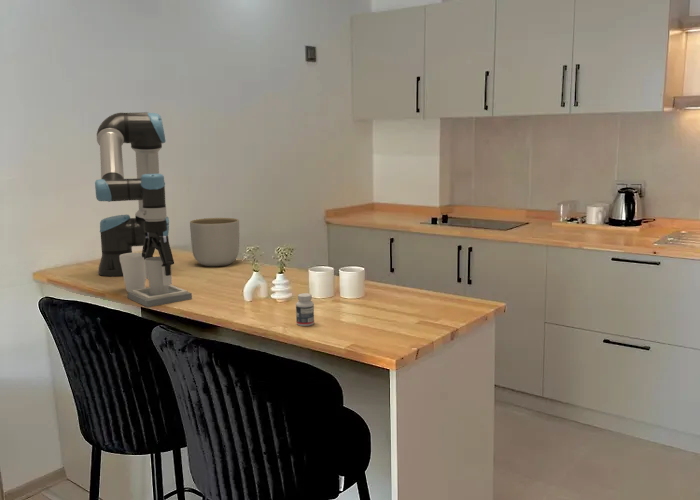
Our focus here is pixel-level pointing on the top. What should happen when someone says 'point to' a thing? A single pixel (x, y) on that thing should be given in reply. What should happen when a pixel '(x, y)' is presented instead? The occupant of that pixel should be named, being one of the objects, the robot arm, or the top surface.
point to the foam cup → (133, 270)
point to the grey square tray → (159, 296)
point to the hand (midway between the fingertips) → (158, 281)
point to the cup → (156, 276)
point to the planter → (215, 240)
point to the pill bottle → (305, 310)
